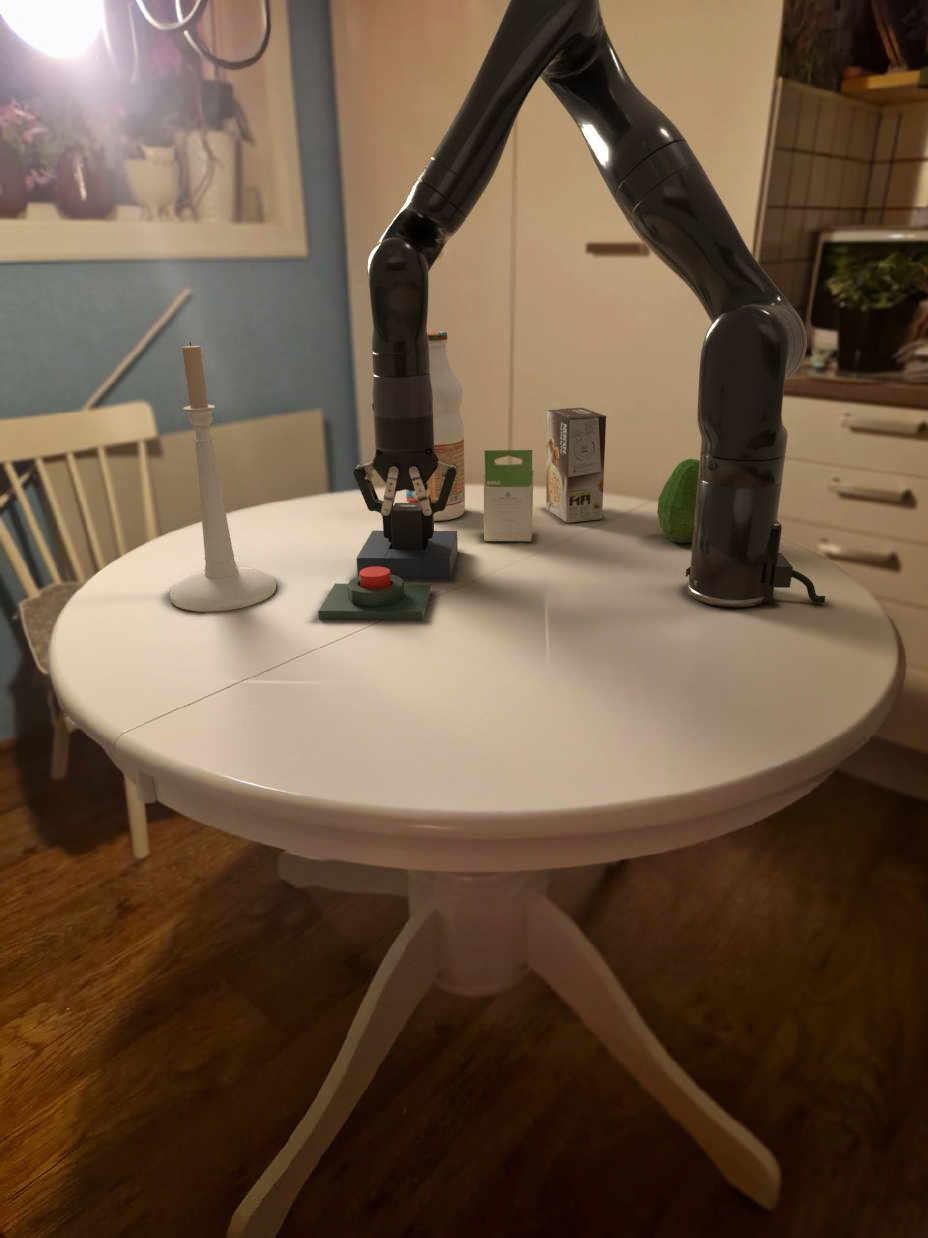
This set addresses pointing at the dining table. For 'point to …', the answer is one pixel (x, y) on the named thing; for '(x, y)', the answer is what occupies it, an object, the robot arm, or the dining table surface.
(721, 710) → the dining table surface
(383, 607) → the red push button plate
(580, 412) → the coffee box
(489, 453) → the ink box
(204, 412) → the candlestick
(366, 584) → the power button
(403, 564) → the square socket block
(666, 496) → the avocado
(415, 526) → the block
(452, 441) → the fruit juice
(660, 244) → the robot arm
